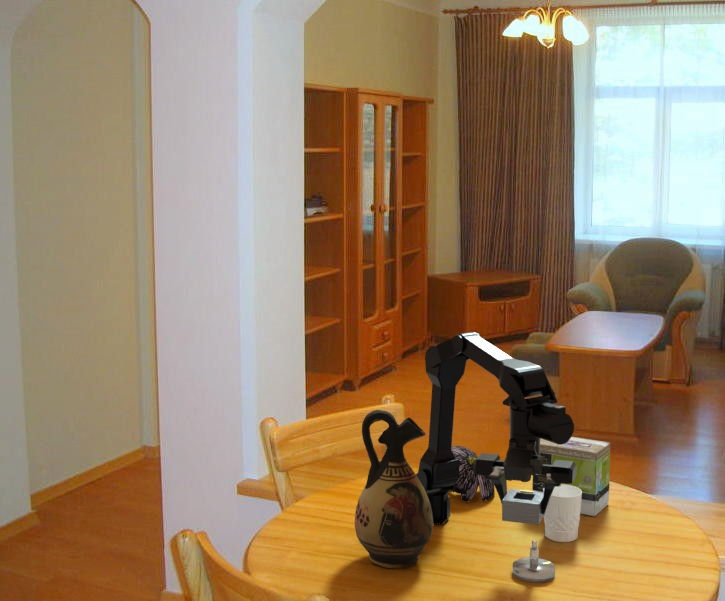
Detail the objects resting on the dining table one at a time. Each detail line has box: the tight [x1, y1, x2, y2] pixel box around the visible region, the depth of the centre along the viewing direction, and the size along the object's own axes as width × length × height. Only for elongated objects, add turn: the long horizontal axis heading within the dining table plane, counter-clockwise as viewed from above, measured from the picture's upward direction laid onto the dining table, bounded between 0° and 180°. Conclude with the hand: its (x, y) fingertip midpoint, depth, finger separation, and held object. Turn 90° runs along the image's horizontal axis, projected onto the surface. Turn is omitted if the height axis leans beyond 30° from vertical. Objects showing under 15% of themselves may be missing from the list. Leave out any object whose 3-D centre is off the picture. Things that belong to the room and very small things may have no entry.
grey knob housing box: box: [501, 488, 546, 526], centre depth 186 cm, size 7×7×4 cm
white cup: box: [543, 484, 582, 543], centre depth 203 cm, size 8×8×10 cm
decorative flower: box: [452, 445, 496, 503], centre depth 228 cm, size 14×12×15 cm
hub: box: [511, 539, 556, 584], centre depth 186 cm, size 8×8×6 cm
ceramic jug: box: [346, 409, 434, 570], centre depth 191 cm, size 17×15×30 cm
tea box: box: [531, 436, 611, 517], centre depth 221 cm, size 15×10×15 cm
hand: (524, 511), depth 186 cm, fingers closed on grey knob housing box, 7 cm apart
